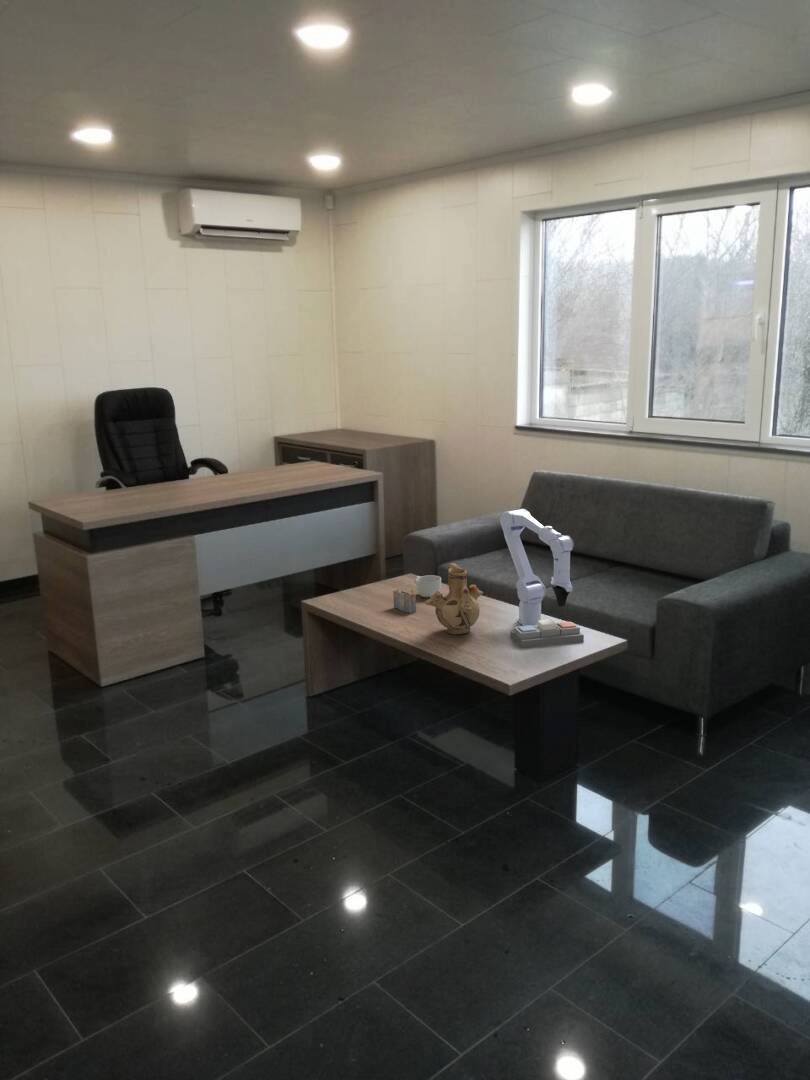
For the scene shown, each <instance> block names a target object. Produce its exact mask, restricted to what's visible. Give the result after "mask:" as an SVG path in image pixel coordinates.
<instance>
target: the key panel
mask: <svg viewBox="0 0 810 1080" xmlns="http://www.w3.org/2000/svg"><path fill="white" fill-rule="evenodd" d="M570 622H571V623H573V624H574V625H576V627H573V628H563V629H562V628H561V627H559V626H558V625H557V623H558V622H555V623H556V629H553V630H543V631H542V630H541V629H540V628H539V627H538V625H534V626H533V627H534V628H535V629H536V631H532V632H521V631H520V630H519V629H518V627H519V626H514V627H513V630H510V639H512V640H513V641H514V642H515V643H516V644H518V645H519V647H521V649H526V648H534V647H545V646H553V645H562V644H563V645H564V644H565V645H566V644H572V643H573V644H574V643H581V642H582V643H583V642H584V640H585V639H584V638H585V637H584V636H585V635H584V634H583V633H582V632H581V628H580V626H578V625H577V624H575V623H574V622H572V621H570Z"/></svg>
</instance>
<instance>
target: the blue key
mask: <svg viewBox="0 0 810 1080" xmlns="http://www.w3.org/2000/svg"><path fill="white" fill-rule="evenodd" d="M517 627H518V629H519V630H520V631H521V632H532V631H536V629H535V628H534V627H533V626H531V625H529V626H523V625H520V626H517Z"/></svg>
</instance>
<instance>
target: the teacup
mask: <svg viewBox="0 0 810 1080" xmlns="http://www.w3.org/2000/svg"><path fill="white" fill-rule="evenodd" d="M414 583H415V585H416V592H417V594H418V595H419V596H421V598H423V597H432V596H433V595H434V594H435V592H436V591H438V592H440V593H441V592H442V577H441V576H439V575H434V574H433V575H431V574H430V575H423V576H422V575H421V576H419V575H417V576H415V577H414Z"/></svg>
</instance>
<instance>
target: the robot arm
mask: <svg viewBox="0 0 810 1080" xmlns="http://www.w3.org/2000/svg"><path fill="white" fill-rule="evenodd" d="M499 523H500V525H501V528H502V532H503V537H504V540H505V542H506V544H507V547H508V550H509V553H510V556H511V559H512V562H513V564H514V567H515V570H516V573H517V575H518V578H519V579H518V581H517V582H516V584H515V586H516V590H517V591H516V593H517V597H518V599H519V600H520V601H519V604H518V618H517V619H516V621H517V622H518V623H519V624H521V626H529V625H531V626H534V625H538V621H540V620H542V601H543V598H544V597H545V596H546V593H547V590H546V586H545V585H544V583H542V580H541V577H539V576H538V575H536V574H534V573H533V572H534V571H533V569H532V567H531V564H530V562H529V558H528V555H527V553H526V551H525V547H524V545H523V543H522V539H521V536H520V535H521V533H522V532H523V530H524V529H525V528H527V529H529V530H531V531H532V532H533V533H536V535H537V534H538V538H539V540H540V541H542V542H543V543H544V544H546V545H548V546H549V547H550V551H551V552H552V557H553V576H551V581H550V584H551V585H552V590H553V592H554V595H555V598H556V603H557V606H558V607H565V606H566V603H567V599H568V596H569V595H570V592H573V585H572V584H571V580H570V579H571V577H570V576H571V572H570V571H571V551H573V550H574V549H573V548H574V546H575V543H574V540H573V539H572V538H571V536H570V535H566V534H565V535H564V534H563V535H562V533H561V532H558V531H556V530H555V529H553V528H554V527H553V526H551V525H545V526H544V525H543V524H541V523H540V522H539V521H538V520H537V519H536V518H534V517H533V516H532V515H531V513H530V511H528V510H527V509H526V508H520V509H515V510H509V511H507V510H506V511H503V512H502V514H501V516H500V518H499Z"/></svg>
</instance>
